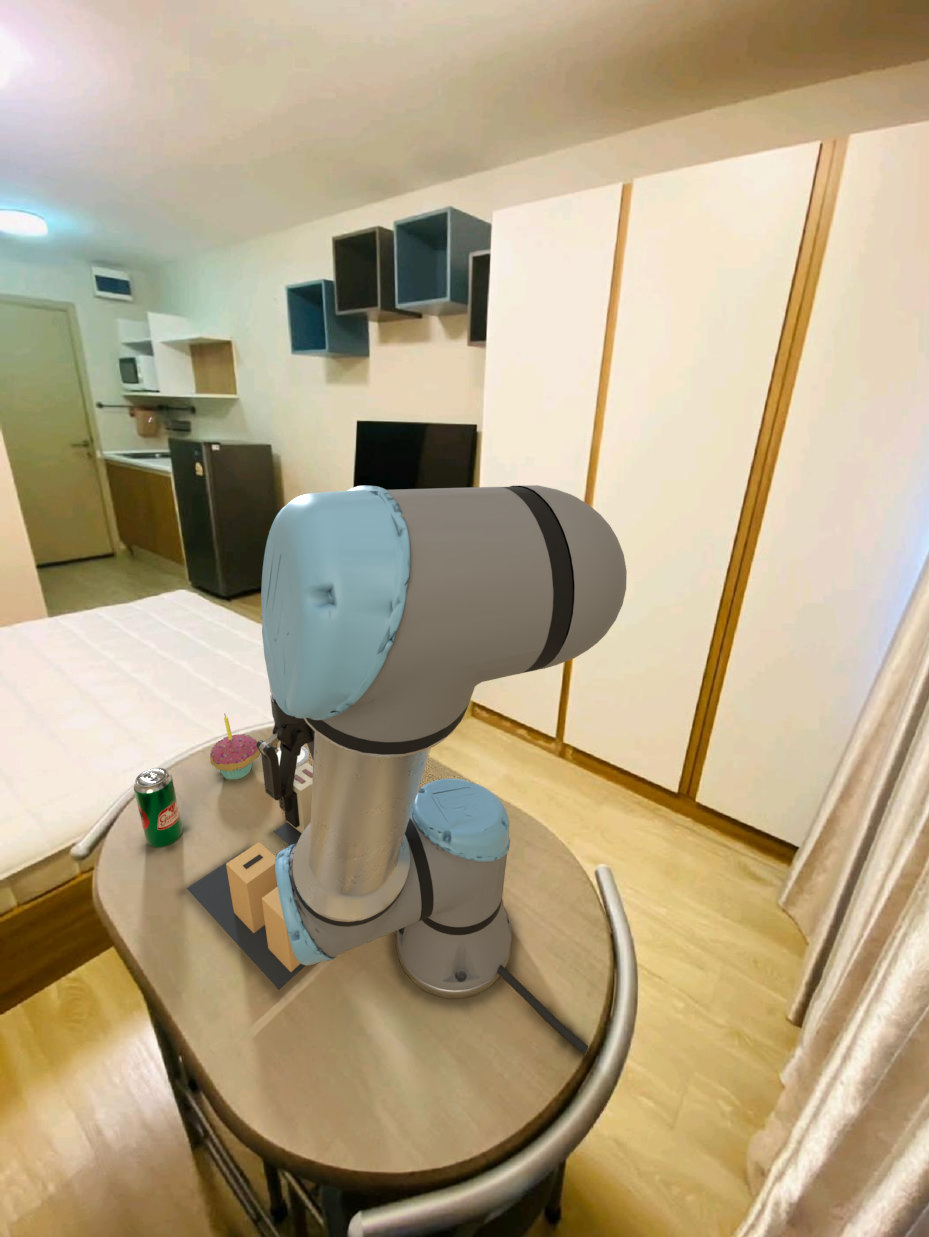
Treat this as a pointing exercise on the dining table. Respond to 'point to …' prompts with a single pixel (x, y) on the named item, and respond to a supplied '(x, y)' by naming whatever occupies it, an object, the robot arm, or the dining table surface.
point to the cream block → (303, 794)
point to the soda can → (158, 807)
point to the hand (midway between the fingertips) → (306, 812)
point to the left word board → (233, 926)
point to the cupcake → (234, 754)
